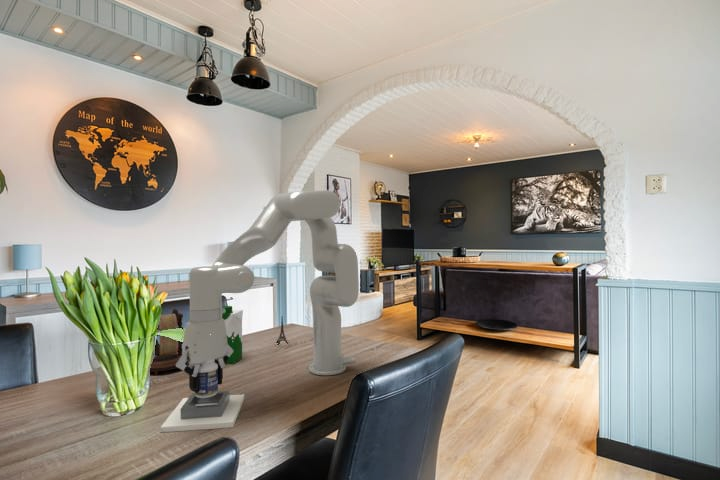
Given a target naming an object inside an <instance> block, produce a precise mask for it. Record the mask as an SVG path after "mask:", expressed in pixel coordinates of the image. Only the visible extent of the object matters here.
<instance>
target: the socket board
mask: <svg viewBox="0 0 720 480" xmlns="http://www.w3.org/2000/svg"><path fill="white" fill-rule="evenodd" d="M188 398H189V397H183V398H182V399H181V401H180V402H179V403H178V404H177V405H176V406H175V408H174V410H173V411H172V412H171V413H170V415H169V416H168V417H167V418H166V419H165V420H164V422H163V423H162V425H161V426H160V433H170V432H171V433H173V432H174V433H175V432H185V431H200V430H202V431H203V430H211V429H213V430H214V429H225V428H226V429H227V428H228V429H229V428H234V426H235V423H236V421H237V418H238V416H239V414H240V411H241V409H242V406H243V403H244V401H245V394H243V393H242V394H230V400H229V402H228V404H227V407H226V409H225V411H224V413H223V415H222V417H208V418H194V419H181V408H182V406H183V405H184V404H185V402H186V401H187V400H188ZM217 404H218V403H206V404H196V405H195V406H201V405H217Z"/></svg>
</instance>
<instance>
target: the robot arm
mask: <svg viewBox="0 0 720 480" xmlns="http://www.w3.org/2000/svg"><path fill="white" fill-rule="evenodd" d="M340 207H341V201H340V198H339V196H338V195H337V194H336V193H335V192H334V191H332V190H330V189H326V190H310V191H309V190H308V191H307V190H306V191H302V190H301V191H291V192H290V191H289V192H284V193H279V194H276V195H274V196H273V197H272V198H271V199H270V200H269V201H268V203H267V205H266V206H265V207H264V208H263V210H262V211H261V213H260V214H259V215H258V216H257V218H256V219H255V221H254V222H253V223H252V225H251V226H250V227H249V228H248V230H246V231H245V232H243V233H241V235H240V236H239V237H237V238H236V239H235V240H234V241H232V242H231V243H230V244H229V245H227V246H226V247H225V248H224V249H223V251H222V252H221V253H220V254H219V255H218V257H217V258H216V260H215V261H214V263H212V265H209V266H207V265H206V266H197V267H193V268H191V269H190V271H189V321H188V322H186V323H185V327H184V330H183V337H182V340H183V344H182V356H181V357H180V359H179V360H178V362H177V363H176V367H178V368H177V369H180V370H182V371H183V372H184V373H185V374H186V375H188V380H189V381H188V383H189V385H188V387H189V389H190V391H191V392H193V393H195V392H196V393H197V392H199V391H200V377H199V376H198V375H197V374H198V370H199V367H200V364H201V363H204V362H207V361H209V360H213V359H214V360H215V361H214V362H215V363H217V365H218V386H220V385H222V384H223V379H224V377H223V376H224V375H223V373H224V372H223V371H224V370H223V369H224V368H225V366H226V364H225V363H226V362H227V360H228V359H229V357H230V356H231V354H232V353H233V349H232V348H231V347H230V346H229V345H228V344H227V333H226V326H225V322H224V319H223V318H222V314H223V313H225V312H226V310H225V308H222V306H223V303H222V302H223V300H222V299H223V298H222V295H223V294H241V293H245V292H247V291H248V290H249V289H251V288H252V286H253V285H254V283H255V275H254V272H253V271H252V270H251V268H249V267H248V266H246V265H245V264H246V263H247V262H248V261H249V260H251V259H253V258H254V257H256V256H257V255H260V254H263V253H264V252H267V251H269V250H270V249H272V248H273V247H275V245H276V244H277V243H278V242H279V240H280V239H281V237H282V235H283V234H284V232H285V231H286V229H287V228H288V227H289V225H290V224H291V222H298V221H299V222H300V221H305V223H306V224H307V225H308V227H309V229H310V233H311V248H312V263H313V266H314V268H315V269H316V270H317V271H319V272H324V273H333V274H335V275H321V276H317V277H316V278H314V279H313V280H312V282H311V284H310V286H309V287H310V288H309V296H310V300H311V306H312V345H313V346H312V347H313V348H312V349H313V350H312V353H313V354H312V355H313V356H312V358H313V361H312V363H310V364H309V365H308V371H309V372H310V373H312V374H313V375H318V376H333V375H338V374H341V373H344V372H345V371H346V369H347V364H350V365H352V364H356V357H352V356H351V355H349V356H344V355H343V354H342V314H341V310H340V308H339V307H341V308H342V307H343V308H344V307H345V308H349V307H352V306H353V305H355V303H356V302H357V300H358V297H359V292H360V290H359V289H360V288H359V287H360V285H359V284H360V283H359V282H360V281H359V280H360V279H359V260H358V256H357V252H356V251H355V249H354V247H352V246H351V245H349V244H346V243H339V242H338V235H337V234H338V233H337V226H336V223H335V222H334V219H333V217H335V216H336V215H338V212H339V210H340ZM210 334H211V335H210ZM186 362H189V363H188V365H185V363H186Z"/></svg>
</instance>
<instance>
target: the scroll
mask: <svg viewBox="0 0 720 480" xmlns="http://www.w3.org/2000/svg"><path fill="white" fill-rule="evenodd" d="M160 316H161V317H160V322H159V325H158V328H157V330H156V331H158V332H159V331H162V330H168V329H176V328H182V329H183V330H184V327H183V322H182V321H183V318H184V315H183V313H179V311H178V309H177V308H174V309H173V310H172V312H171V313H170V314H163V315H162V314H161V315H160ZM158 336H159V341H158V339H157V338H155V339H156V345H155V354H154V356H155V357H154V359H153V362H152V364H151V368H150V371H149V372H154V375H155V376H157V375H159V372H164V371H166V372H167V371H171V370H175V369H179V368H178V367H176V363H177V362H178V360H179V359H180V357H181V356H182V350H183V342H180V341H176V340H173V339H171V338H169V337H165V336H160V335H157V336H156V337H158ZM189 363H190V361H189V362H186V363H185V365H187V366H189Z"/></svg>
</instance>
